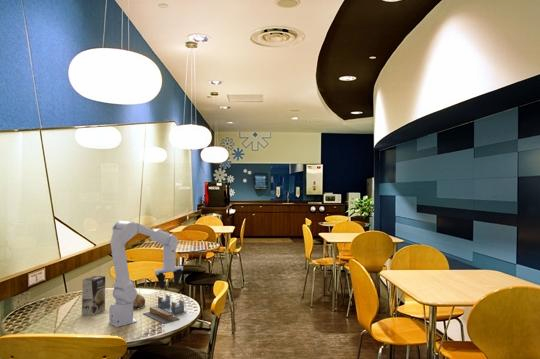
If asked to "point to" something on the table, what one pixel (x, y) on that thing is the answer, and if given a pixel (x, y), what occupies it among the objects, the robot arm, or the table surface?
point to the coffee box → (93, 295)
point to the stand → (172, 308)
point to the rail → (161, 313)
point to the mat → (160, 318)
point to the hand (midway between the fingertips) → (169, 287)
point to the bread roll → (138, 302)
